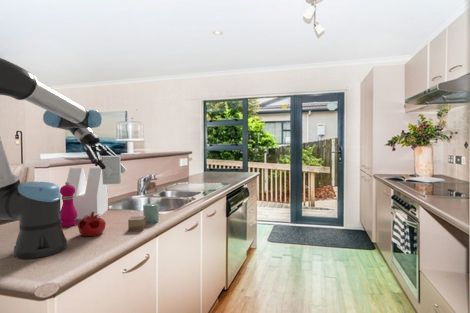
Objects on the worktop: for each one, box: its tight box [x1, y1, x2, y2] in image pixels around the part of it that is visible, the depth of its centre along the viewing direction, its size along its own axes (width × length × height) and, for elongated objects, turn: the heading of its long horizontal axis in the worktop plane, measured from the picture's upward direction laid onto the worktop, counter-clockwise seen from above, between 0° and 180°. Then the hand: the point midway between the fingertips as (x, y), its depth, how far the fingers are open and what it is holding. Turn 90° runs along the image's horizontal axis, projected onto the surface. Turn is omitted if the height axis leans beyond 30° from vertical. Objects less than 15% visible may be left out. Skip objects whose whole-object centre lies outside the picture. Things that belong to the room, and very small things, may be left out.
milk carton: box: [66, 166, 109, 220], centre depth 148 cm, size 19×15×25 cm
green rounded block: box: [142, 203, 160, 224], centre depth 133 cm, size 7×7×8 cm
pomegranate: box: [77, 212, 107, 237], centre depth 114 cm, size 10×10×9 cm
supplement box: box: [101, 155, 122, 185], centre depth 128 cm, size 7×7×13 cm
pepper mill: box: [59, 181, 77, 228], centre depth 127 cm, size 7×7×20 cm
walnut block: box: [127, 215, 147, 232], centre depth 122 cm, size 6×6×5 cm
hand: (117, 172), depth 128 cm, fingers closed on supplement box, 10 cm apart
